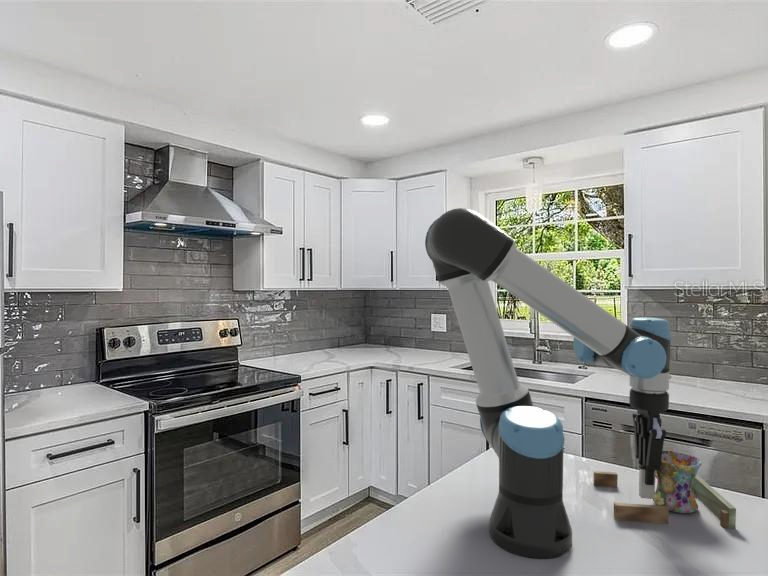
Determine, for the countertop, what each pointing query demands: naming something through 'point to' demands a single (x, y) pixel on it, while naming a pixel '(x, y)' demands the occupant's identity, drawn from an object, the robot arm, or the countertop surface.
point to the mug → (677, 481)
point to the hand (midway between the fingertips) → (646, 496)
